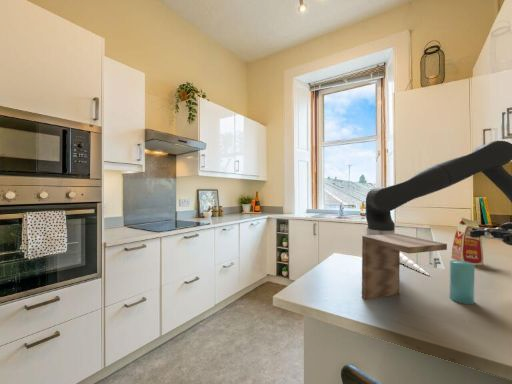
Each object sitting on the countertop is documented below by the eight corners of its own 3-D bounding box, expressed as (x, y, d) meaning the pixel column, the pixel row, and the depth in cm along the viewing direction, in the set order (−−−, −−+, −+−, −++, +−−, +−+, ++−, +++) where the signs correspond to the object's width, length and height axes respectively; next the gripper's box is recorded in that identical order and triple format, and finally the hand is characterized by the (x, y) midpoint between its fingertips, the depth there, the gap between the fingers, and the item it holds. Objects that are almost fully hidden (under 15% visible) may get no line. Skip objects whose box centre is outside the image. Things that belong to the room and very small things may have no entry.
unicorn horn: (419, 276, 94) (419, 263, 94) (388, 259, 118) (388, 249, 118) (432, 277, 94) (432, 264, 94) (398, 259, 118) (398, 249, 118)
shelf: (395, 292, 79) (395, 233, 79) (446, 315, 65) (446, 243, 64) (361, 297, 75) (362, 235, 75) (408, 323, 60) (408, 247, 60)
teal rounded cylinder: (453, 302, 72) (454, 264, 72) (446, 294, 77) (447, 259, 77) (477, 305, 70) (478, 266, 70) (469, 297, 75) (469, 261, 75)
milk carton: (462, 264, 109) (463, 218, 109) (450, 258, 118) (450, 216, 118) (486, 265, 108) (487, 219, 108) (471, 259, 117) (472, 216, 117)
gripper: (493, 219, 89) (462, 221, 84) (550, 224, 76) (517, 227, 70) (493, 240, 89) (462, 244, 84) (550, 249, 76) (517, 254, 71)
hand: (487, 236), depth 77 cm, fingers open, 8 cm apart
